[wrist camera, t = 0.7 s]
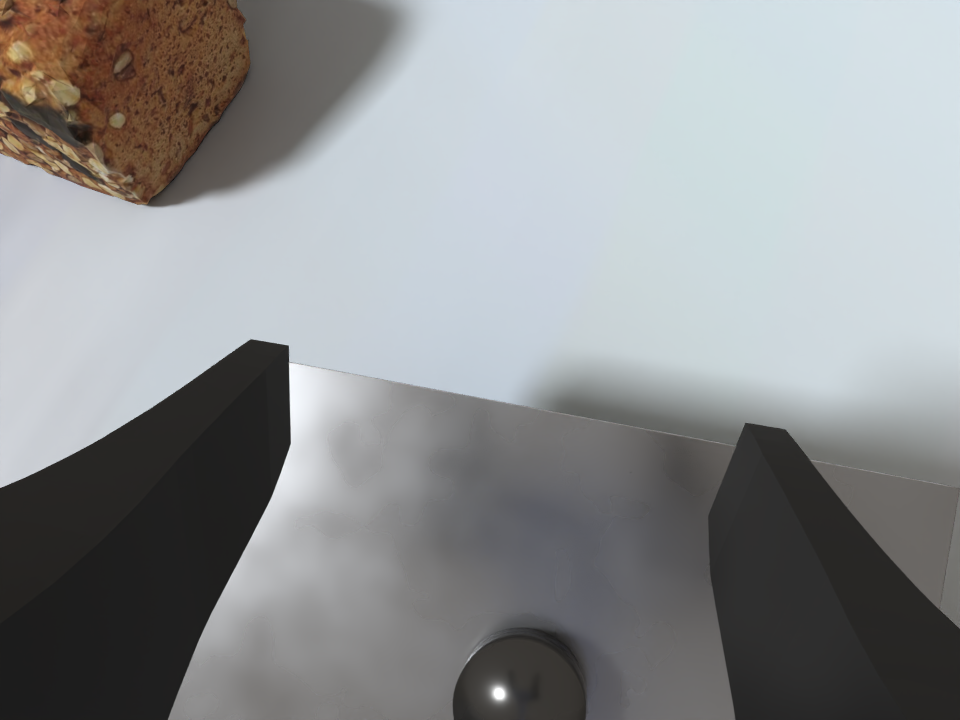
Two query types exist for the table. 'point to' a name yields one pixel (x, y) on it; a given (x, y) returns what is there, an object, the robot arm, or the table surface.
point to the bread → (116, 86)
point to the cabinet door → (495, 565)
